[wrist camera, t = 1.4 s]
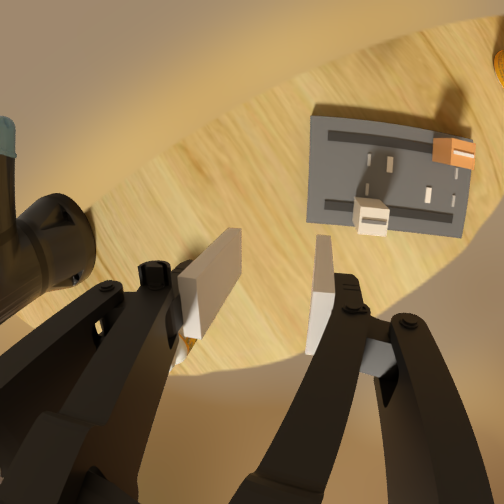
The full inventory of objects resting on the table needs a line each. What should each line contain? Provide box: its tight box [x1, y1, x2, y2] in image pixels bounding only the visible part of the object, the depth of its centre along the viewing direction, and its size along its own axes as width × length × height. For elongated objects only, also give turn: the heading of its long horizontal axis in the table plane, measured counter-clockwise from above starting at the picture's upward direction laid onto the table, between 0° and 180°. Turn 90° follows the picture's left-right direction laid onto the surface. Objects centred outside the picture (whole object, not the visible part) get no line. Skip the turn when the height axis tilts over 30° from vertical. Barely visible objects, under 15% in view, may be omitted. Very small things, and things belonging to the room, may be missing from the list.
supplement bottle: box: [169, 326, 197, 372], centre depth 36 cm, size 5×5×10 cm
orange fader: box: [432, 138, 476, 170], centre depth 22 cm, size 3×2×5 cm
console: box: [306, 116, 473, 238], centre depth 28 cm, size 18×11×2 cm, turn 90°
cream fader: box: [352, 197, 390, 237], centre depth 26 cm, size 3×2×5 cm
